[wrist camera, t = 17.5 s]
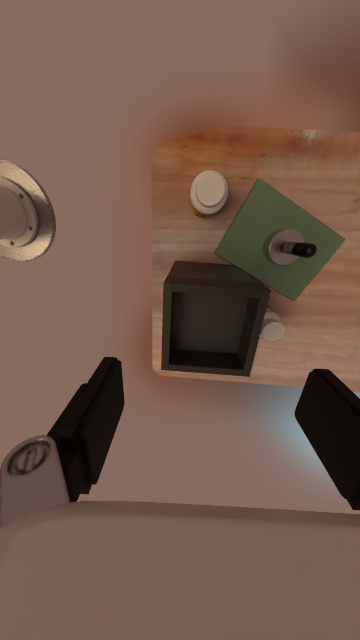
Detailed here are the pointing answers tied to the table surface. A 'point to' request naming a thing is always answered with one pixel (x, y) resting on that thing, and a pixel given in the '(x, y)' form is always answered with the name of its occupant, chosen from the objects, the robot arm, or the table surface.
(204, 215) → the supplement bottle
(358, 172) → the table surface
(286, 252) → the meat pounder
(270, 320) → the pill bottle
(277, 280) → the green mat
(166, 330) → the black box
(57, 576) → the robot arm
